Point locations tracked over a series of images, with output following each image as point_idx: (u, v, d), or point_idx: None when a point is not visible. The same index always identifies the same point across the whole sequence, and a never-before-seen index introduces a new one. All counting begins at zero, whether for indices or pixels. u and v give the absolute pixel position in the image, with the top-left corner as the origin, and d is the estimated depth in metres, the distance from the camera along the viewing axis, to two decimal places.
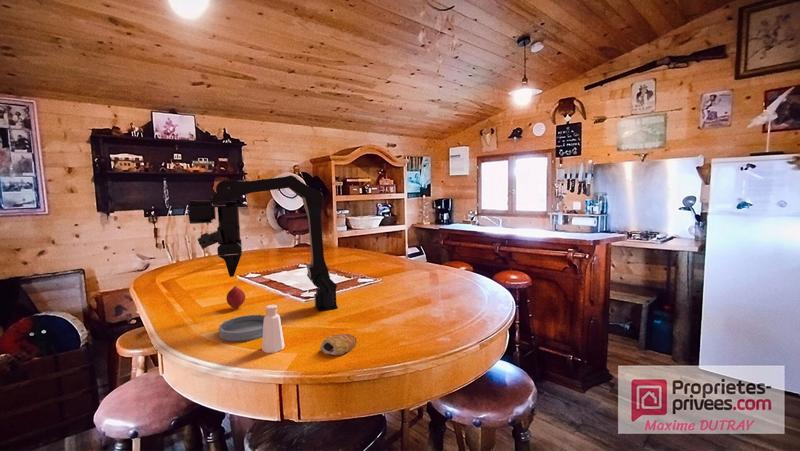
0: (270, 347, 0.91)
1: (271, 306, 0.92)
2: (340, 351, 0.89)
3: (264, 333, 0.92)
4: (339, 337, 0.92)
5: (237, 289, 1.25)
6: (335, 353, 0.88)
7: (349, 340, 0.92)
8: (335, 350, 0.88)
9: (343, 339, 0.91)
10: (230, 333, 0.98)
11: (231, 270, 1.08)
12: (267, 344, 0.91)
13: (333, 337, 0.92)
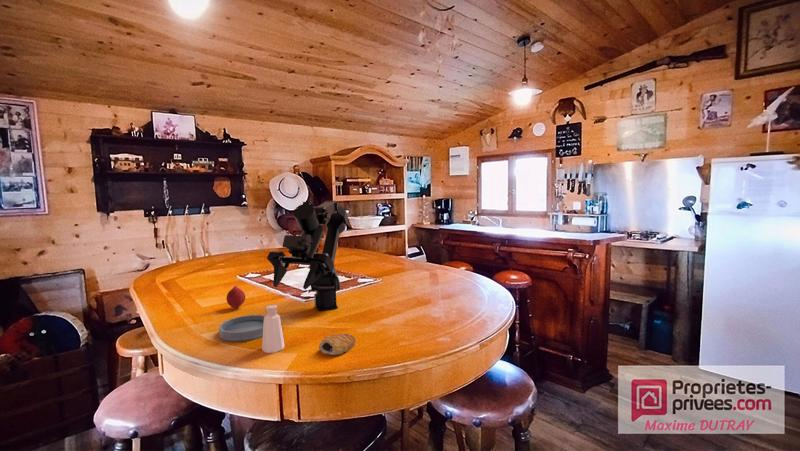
0: (270, 347, 0.91)
1: (271, 306, 0.92)
2: (338, 351, 0.89)
3: (264, 333, 0.92)
4: (338, 337, 0.92)
5: (237, 289, 1.25)
6: (334, 353, 0.89)
7: (347, 339, 0.93)
8: (334, 350, 0.89)
9: (342, 339, 0.91)
10: (230, 333, 0.98)
11: (309, 282, 1.00)
12: (267, 344, 0.91)
13: (332, 337, 0.92)
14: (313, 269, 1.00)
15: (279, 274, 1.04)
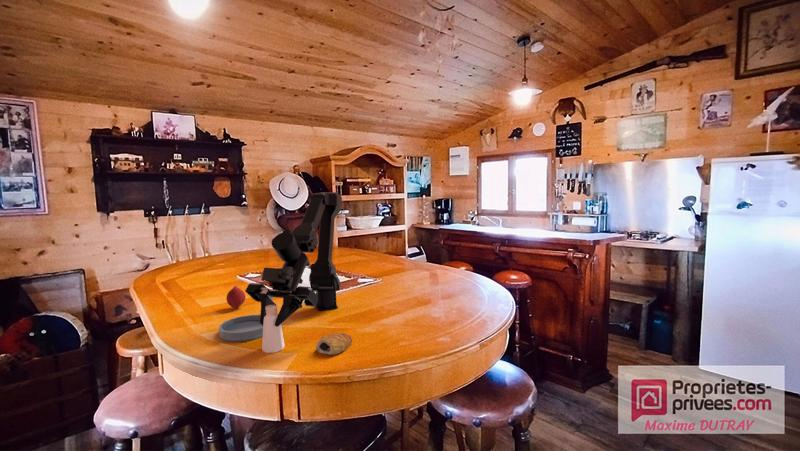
0: (270, 347, 0.91)
1: (271, 306, 0.92)
2: (336, 351, 0.89)
3: (264, 333, 0.92)
4: (335, 337, 0.92)
5: (237, 289, 1.25)
6: (332, 353, 0.89)
7: (344, 339, 0.93)
8: (332, 350, 0.89)
9: (339, 338, 0.92)
10: (230, 333, 0.98)
11: (282, 318, 0.92)
12: (267, 344, 0.91)
13: (329, 337, 0.92)
14: (286, 304, 0.93)
15: None
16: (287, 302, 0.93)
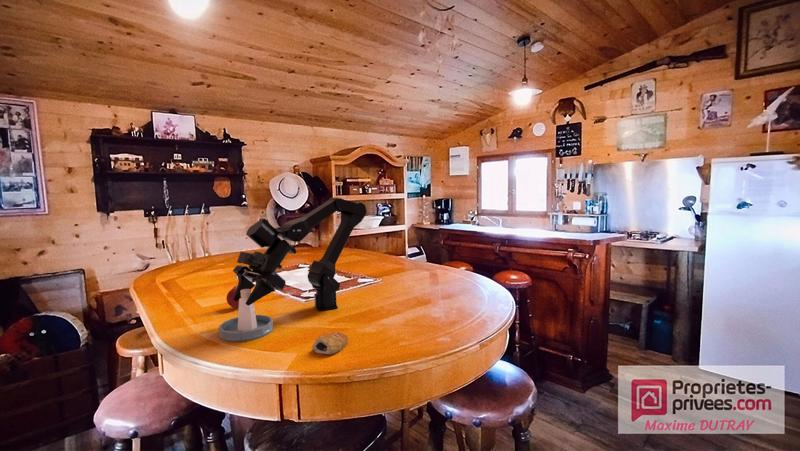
0: (241, 326, 1.03)
1: (245, 290, 1.04)
2: (333, 350, 0.89)
3: (238, 313, 1.04)
4: (331, 336, 0.92)
5: None
6: (329, 352, 0.89)
7: (341, 338, 0.93)
8: (329, 349, 0.89)
9: (336, 338, 0.92)
10: (230, 333, 0.98)
11: (253, 299, 1.02)
12: (239, 323, 1.03)
13: (325, 336, 0.92)
14: (257, 286, 1.02)
15: (242, 289, 1.07)
16: (258, 284, 1.02)
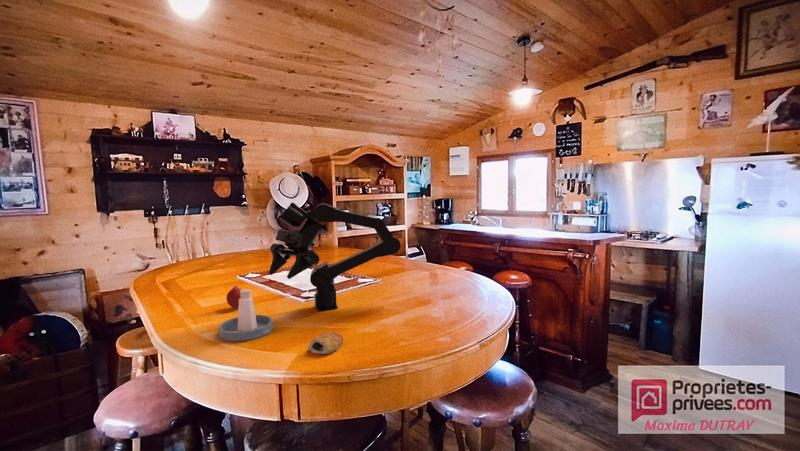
0: (241, 326, 1.03)
1: (244, 290, 1.04)
2: (330, 350, 0.90)
3: (238, 313, 1.04)
4: (327, 336, 0.92)
5: (237, 289, 1.25)
6: (325, 352, 0.89)
7: (337, 338, 0.94)
8: (325, 349, 0.89)
9: (332, 338, 0.92)
10: (230, 333, 0.98)
11: (293, 273, 1.11)
12: (239, 323, 1.03)
13: (321, 336, 0.92)
14: (297, 261, 1.11)
15: (277, 264, 1.18)
16: (298, 259, 1.11)
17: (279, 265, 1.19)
